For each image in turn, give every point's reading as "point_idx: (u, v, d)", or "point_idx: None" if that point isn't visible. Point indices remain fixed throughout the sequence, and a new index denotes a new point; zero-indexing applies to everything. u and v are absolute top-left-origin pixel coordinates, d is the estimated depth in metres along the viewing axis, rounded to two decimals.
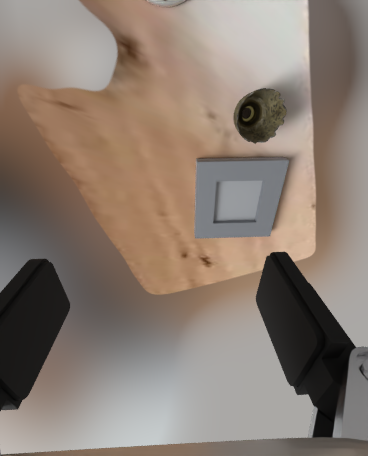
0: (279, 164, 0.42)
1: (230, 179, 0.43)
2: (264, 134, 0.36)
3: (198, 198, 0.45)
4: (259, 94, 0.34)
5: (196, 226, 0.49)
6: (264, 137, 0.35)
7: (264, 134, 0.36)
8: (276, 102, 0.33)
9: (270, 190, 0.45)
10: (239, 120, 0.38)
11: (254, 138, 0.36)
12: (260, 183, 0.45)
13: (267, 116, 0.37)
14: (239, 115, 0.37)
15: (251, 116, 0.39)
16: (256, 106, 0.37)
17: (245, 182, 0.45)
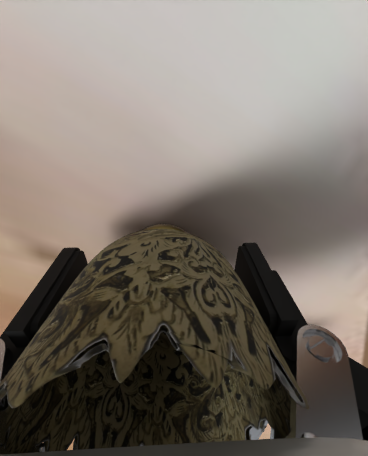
0: None
1: None
2: (208, 391, 0.08)
3: None
4: None
5: None
6: (204, 427, 0.08)
7: (209, 390, 0.08)
8: None
9: None
10: None
11: (165, 409, 0.08)
12: None
13: None
14: None
15: None
16: None
17: None
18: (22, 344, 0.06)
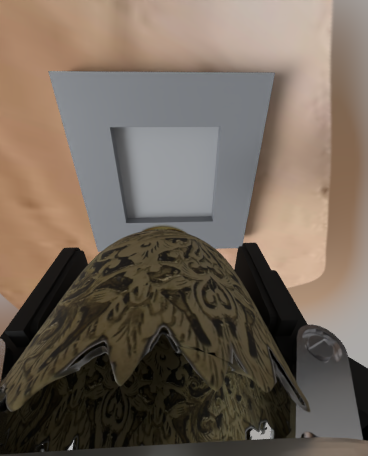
0: (251, 84, 0.18)
1: (141, 122, 0.19)
2: (208, 392, 0.08)
3: (80, 168, 0.21)
4: None
5: (94, 228, 0.25)
6: (205, 429, 0.08)
7: (210, 391, 0.08)
8: None
9: (235, 152, 0.21)
10: None
11: (165, 411, 0.08)
12: (214, 137, 0.21)
13: None
14: None
15: None
16: None
17: (181, 134, 0.21)
18: (22, 344, 0.06)
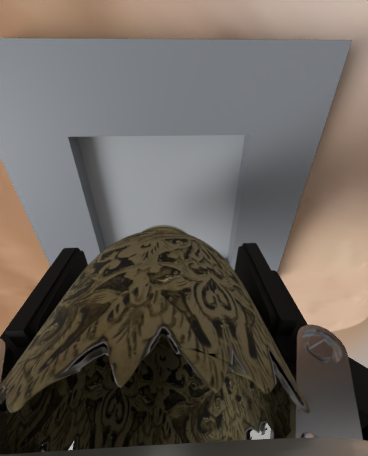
0: (308, 61, 0.10)
1: (120, 129, 0.11)
2: (208, 393, 0.08)
3: (27, 200, 0.13)
4: None
5: None
6: (205, 429, 0.08)
7: (210, 392, 0.08)
8: None
9: (271, 173, 0.13)
10: None
11: (166, 411, 0.08)
12: (237, 150, 0.13)
13: None
14: None
15: None
16: None
17: (185, 146, 0.13)
18: (22, 344, 0.06)
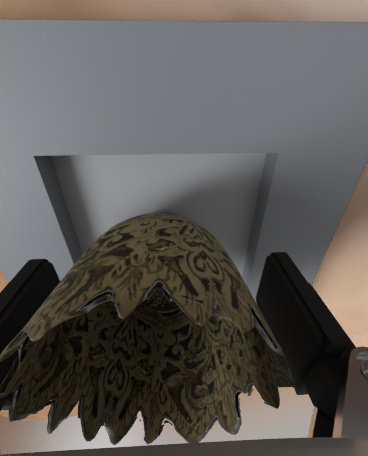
0: (365, 54, 0.07)
1: (103, 145, 0.08)
2: (201, 364, 0.09)
3: None
4: None
5: None
6: (198, 395, 0.08)
7: (203, 363, 0.09)
8: None
9: (300, 200, 0.10)
10: None
11: (162, 380, 0.09)
12: (256, 169, 0.10)
13: None
14: None
15: None
16: None
17: (190, 164, 0.10)
18: None
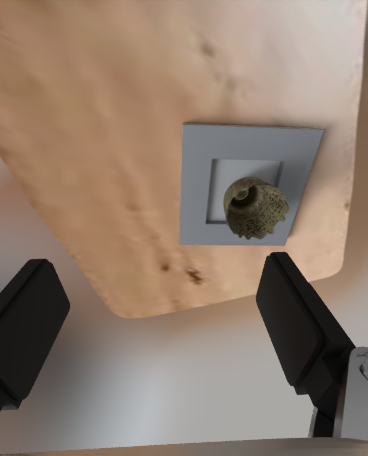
0: (308, 136, 0.27)
1: (233, 156, 0.28)
2: (260, 225, 0.29)
3: (184, 184, 0.30)
4: None
5: (181, 227, 0.34)
6: (260, 231, 0.28)
7: (260, 225, 0.29)
8: (276, 193, 0.26)
9: (291, 177, 0.30)
10: (230, 201, 0.31)
11: (247, 230, 0.29)
12: (276, 166, 0.30)
13: (264, 200, 0.30)
14: None
15: (245, 194, 0.32)
16: (251, 187, 0.30)
17: (255, 164, 0.30)
18: None
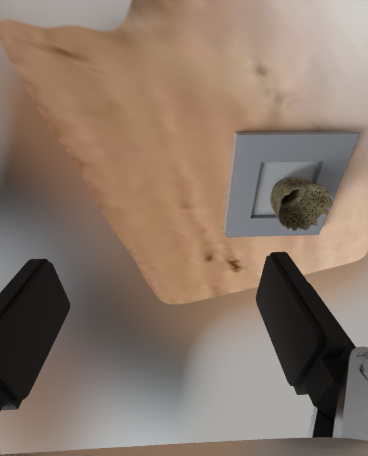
0: (346, 139, 0.32)
1: (279, 159, 0.33)
2: (303, 218, 0.33)
3: (235, 185, 0.35)
4: None
5: (229, 222, 0.39)
6: (304, 223, 0.33)
7: (303, 218, 0.33)
8: (320, 190, 0.31)
9: (328, 175, 0.35)
10: None
11: (292, 222, 0.33)
12: (315, 166, 0.35)
13: (305, 196, 0.34)
14: None
15: None
16: None
17: (296, 164, 0.35)
18: None
